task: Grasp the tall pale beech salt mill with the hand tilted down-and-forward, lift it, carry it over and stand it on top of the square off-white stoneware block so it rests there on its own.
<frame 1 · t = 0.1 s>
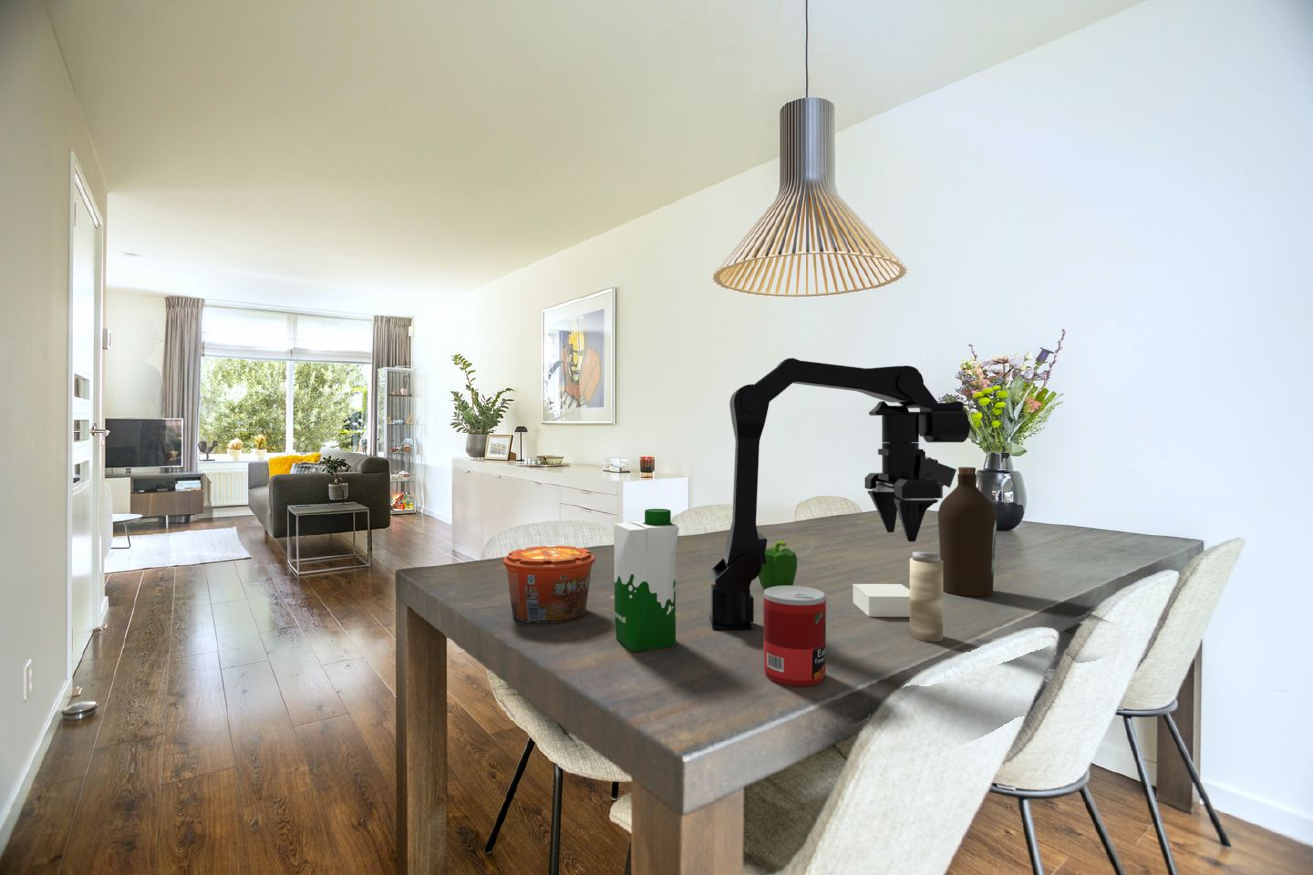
hand: (900, 536, 103), 15 cm above the table, tool pointing down, fingers open, 9 cm apart
olive oil: (967, 592, 125), on the table
stoneware block: (885, 609, 112), on the table
milk carton: (644, 643, 95), on the table
food container: (549, 614, 110), on the table
canned food: (794, 677, 82), on the table
bell pepper: (776, 589, 128), on the table
salt mill: (926, 636, 97), on the table
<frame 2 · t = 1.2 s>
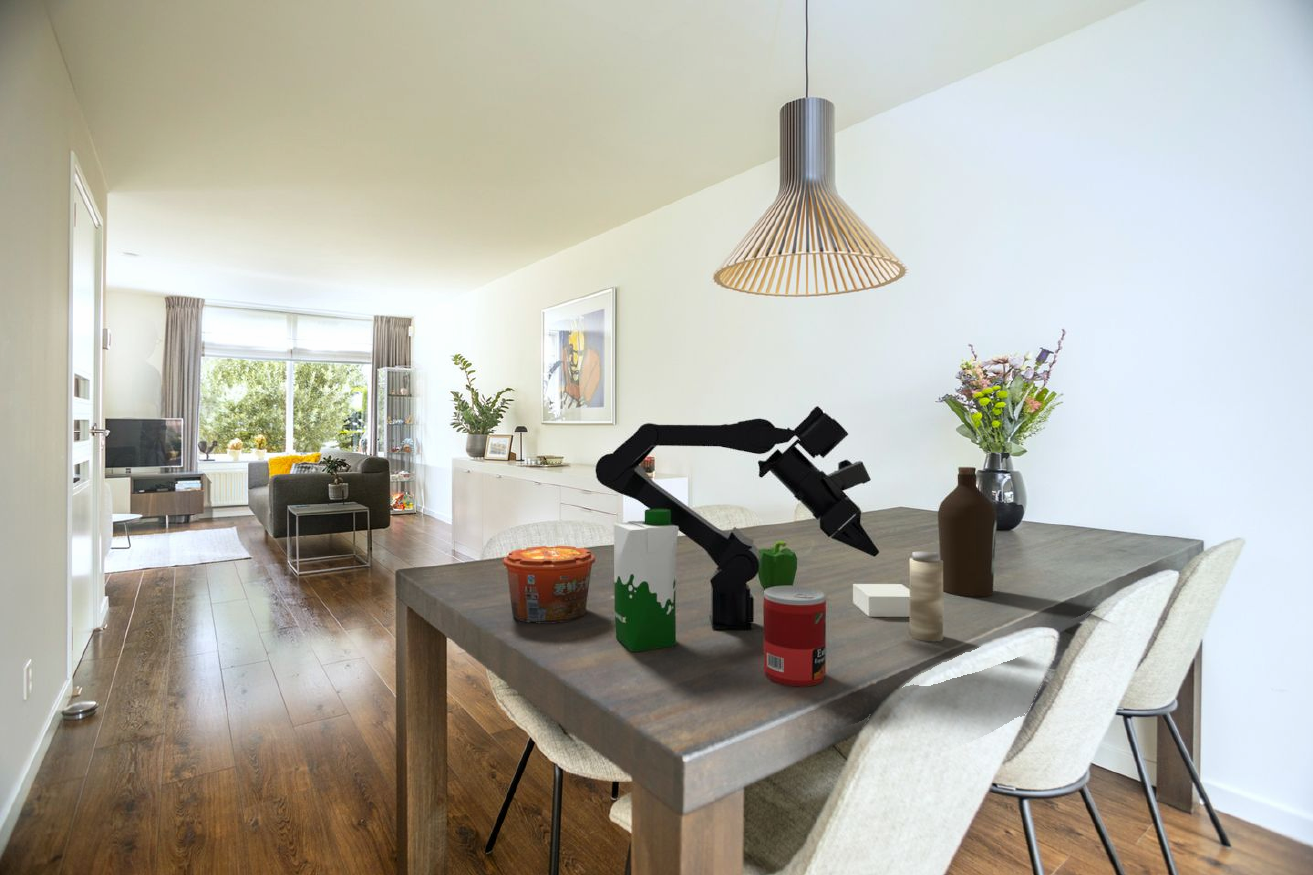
hand: (872, 548, 99), 13 cm above the table, tool tilted 45°, fingers open, 9 cm apart
nothing on the table moved.
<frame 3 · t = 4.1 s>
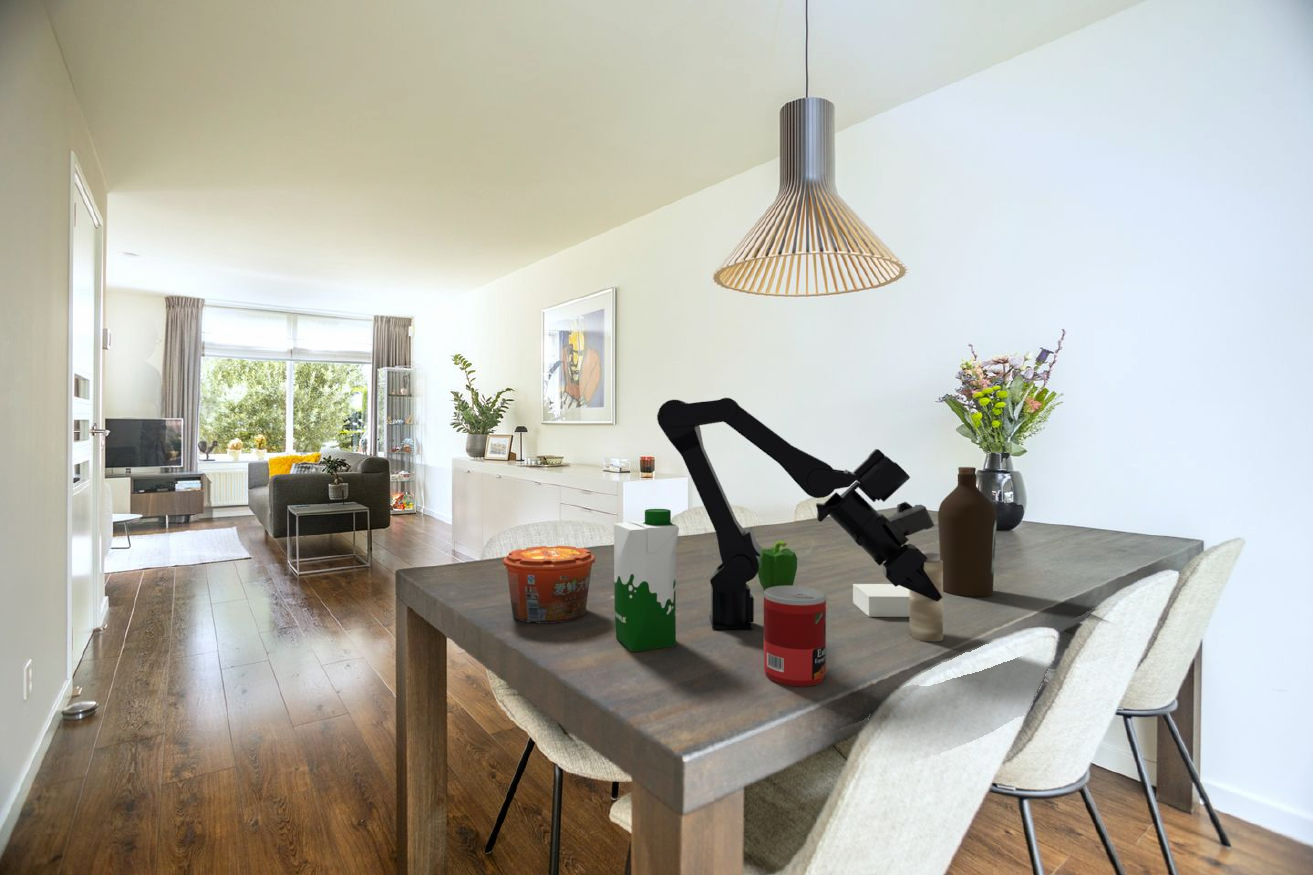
hand: (935, 594, 97), 7 cm above the table, tool tilted 45°, fingers closed on salt mill, 5 cm apart
salt mill: (926, 636, 97), on the table, touching gripper
everything else where it was.
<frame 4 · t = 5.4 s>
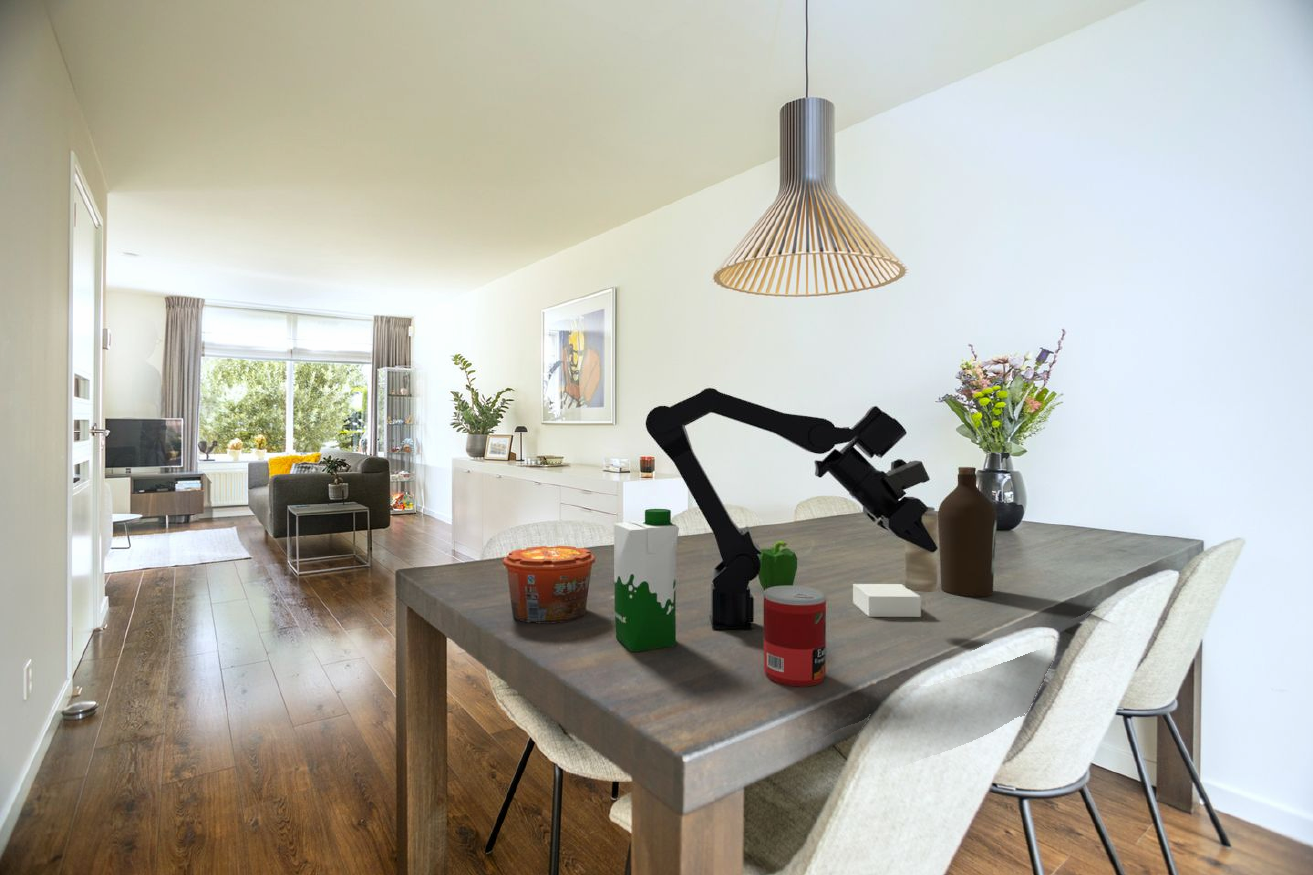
hand: (930, 547, 100), 13 cm above the table, tool tilted 45°, fingers closed on salt mill, 5 cm apart
salt mill: (920, 588, 100), point 7 cm above the table, touching gripper
everything else where it was.
when the fingers open (11 cm above the table, at t = 7.0 s): salt mill stays where it is, resting on stoneware block.
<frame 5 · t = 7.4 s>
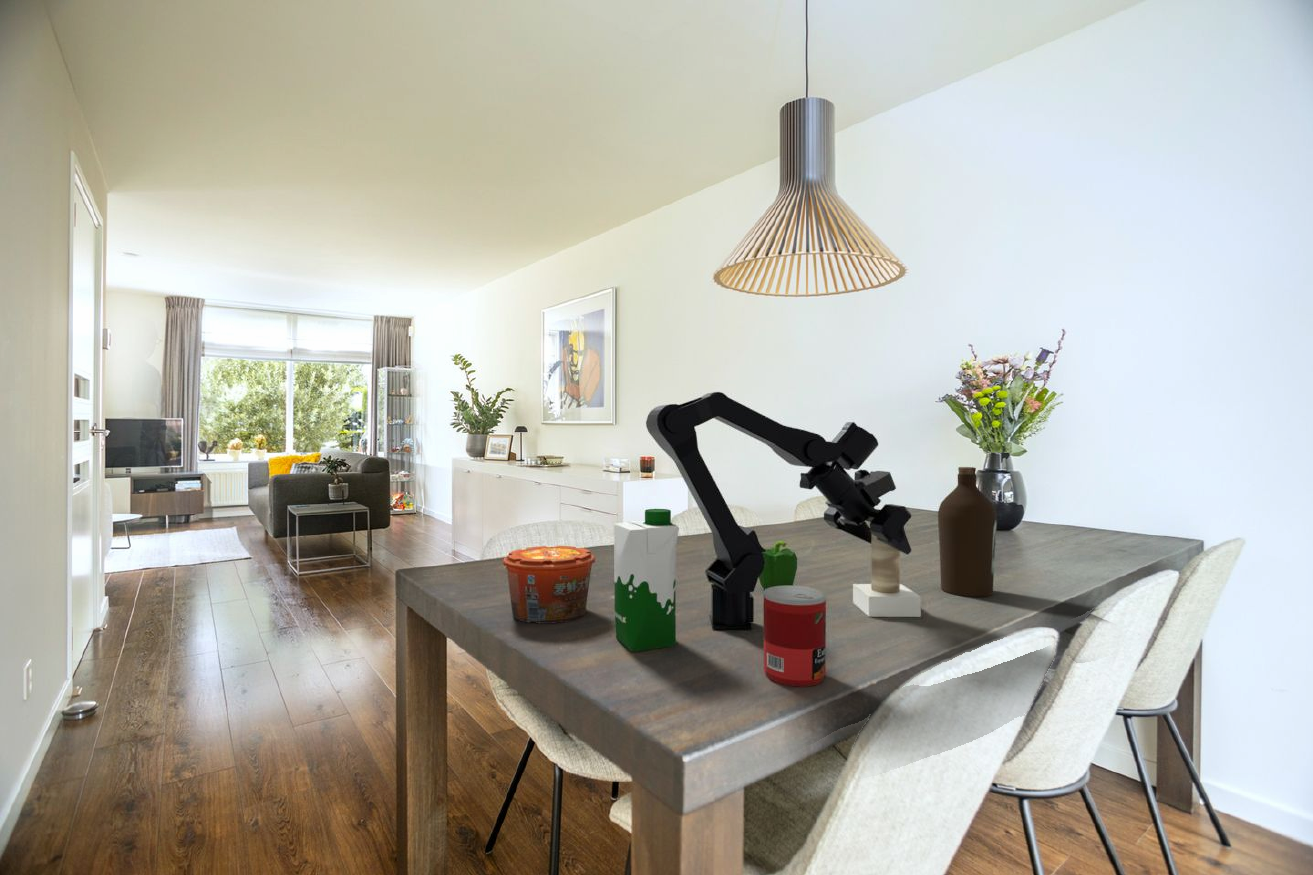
hand: (892, 547, 113), 11 cm above the table, tool tilted 45°, fingers open, 9 cm apart
salt mill: (885, 589, 112), point 4 cm above the table, touching stoneware block
everything else where it was.
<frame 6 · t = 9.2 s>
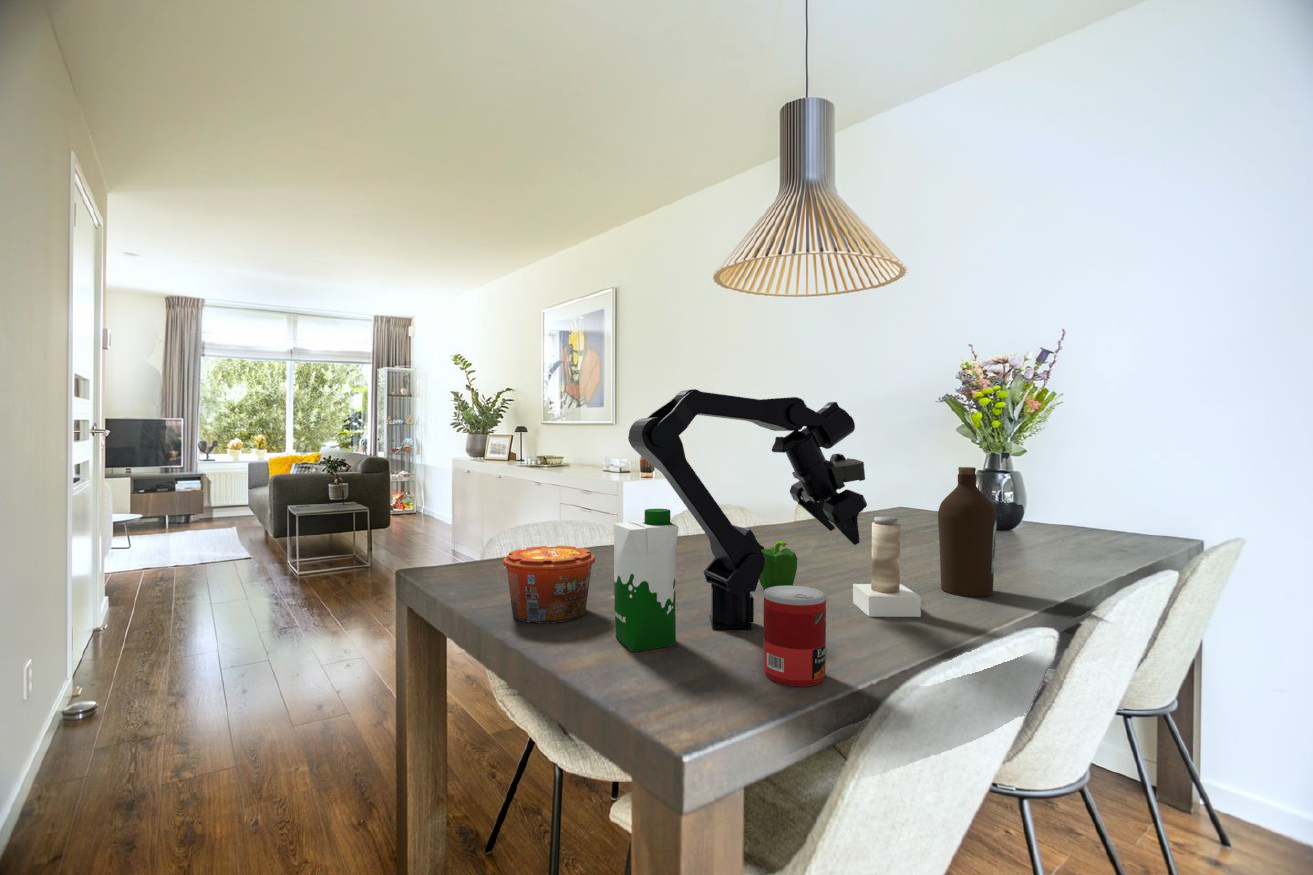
hand: (844, 536, 112), 13 cm above the table, tool tilted 30°, fingers open, 9 cm apart
nothing on the table moved.
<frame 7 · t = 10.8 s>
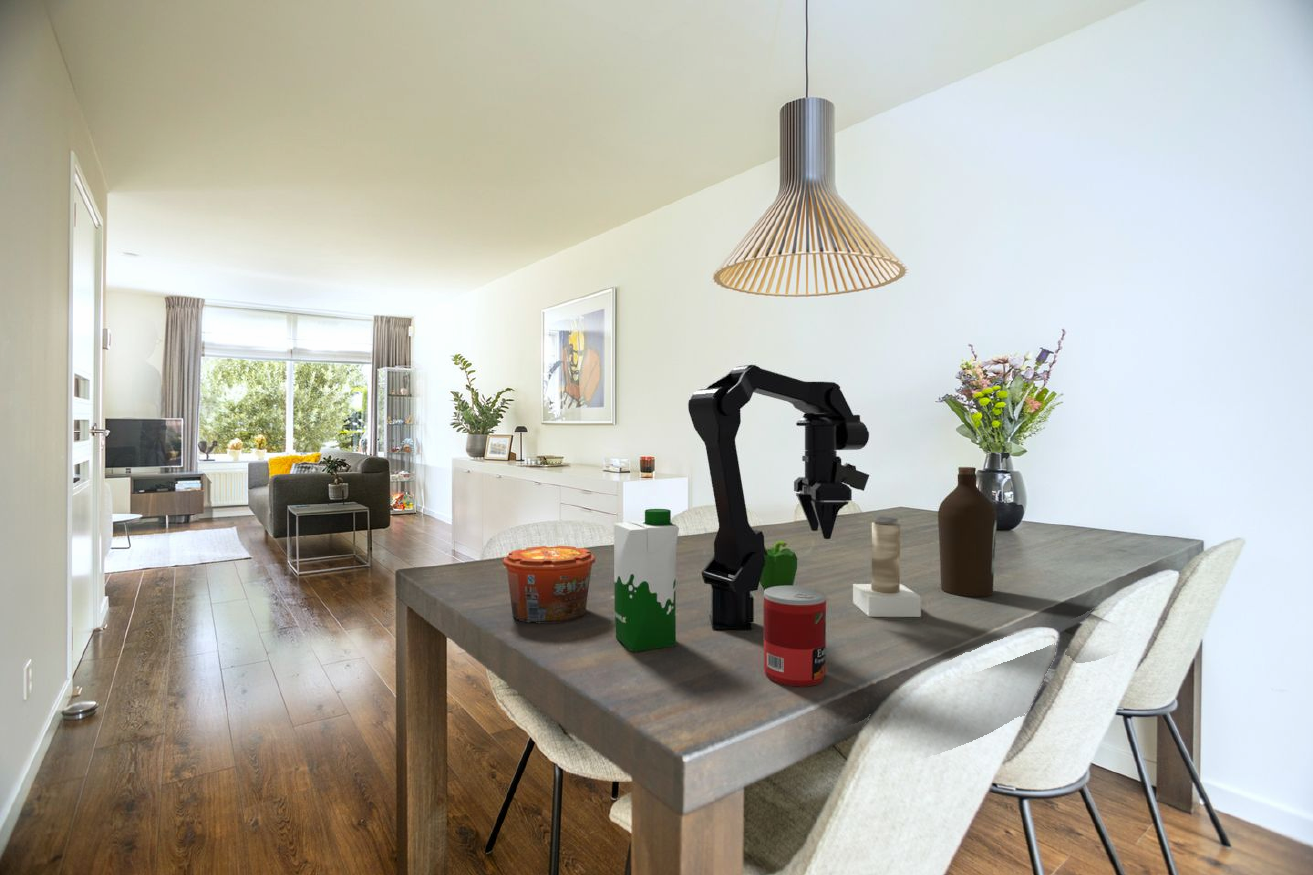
hand: (820, 534, 115), 13 cm above the table, tool pointing down, fingers open, 9 cm apart
nothing on the table moved.
at the end: salt mill inside the target area on the stoneware block (0.0 cm from its centre), point 3.5 cm above the stoneware block's base; salt mill tilted 1°; the gripper is holding nothing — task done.
